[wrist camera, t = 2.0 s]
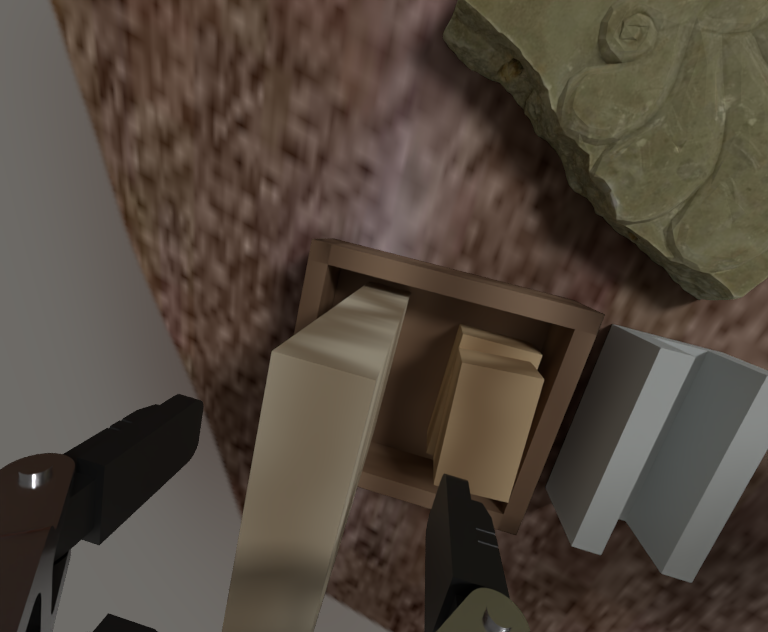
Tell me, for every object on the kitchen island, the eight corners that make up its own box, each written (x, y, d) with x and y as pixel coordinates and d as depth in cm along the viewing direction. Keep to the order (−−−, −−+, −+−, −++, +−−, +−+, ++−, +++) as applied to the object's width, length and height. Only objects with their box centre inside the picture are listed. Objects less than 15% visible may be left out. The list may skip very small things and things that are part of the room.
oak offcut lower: (530, 342, 20) (542, 355, 18) (491, 450, 22) (498, 474, 20) (459, 323, 21) (463, 333, 18) (427, 431, 22) (426, 453, 20)
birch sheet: (411, 292, 21) (376, 380, 8) (374, 431, 23) (300, 675, 10) (370, 281, 21) (271, 350, 8) (337, 420, 23) (218, 646, 10)
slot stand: (722, 352, 20) (803, 384, 16) (641, 516, 23) (691, 583, 18) (612, 324, 20) (661, 347, 16) (545, 487, 23) (571, 546, 19)
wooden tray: (572, 299, 20) (605, 314, 17) (502, 485, 23) (516, 535, 20) (333, 238, 21) (311, 238, 18) (295, 424, 24) (269, 459, 21)
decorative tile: (720, -344, 15) (807, -521, 11) (1053, -4, 16) (1229, -73, 12) (415, 64, 20) (411, 26, 16) (685, 311, 20) (737, 326, 17)
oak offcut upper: (530, 361, 18) (544, 379, 16) (499, 472, 20) (508, 502, 17) (458, 347, 18) (462, 362, 16) (433, 457, 20) (433, 484, 18)
